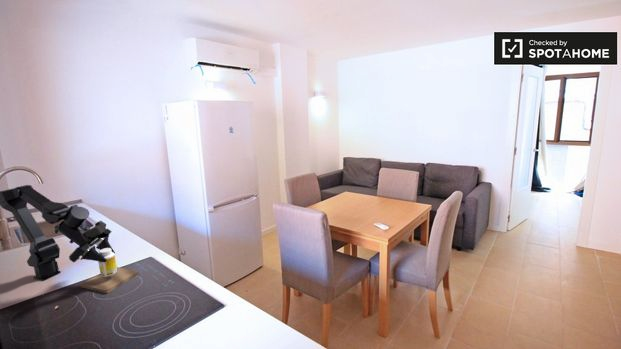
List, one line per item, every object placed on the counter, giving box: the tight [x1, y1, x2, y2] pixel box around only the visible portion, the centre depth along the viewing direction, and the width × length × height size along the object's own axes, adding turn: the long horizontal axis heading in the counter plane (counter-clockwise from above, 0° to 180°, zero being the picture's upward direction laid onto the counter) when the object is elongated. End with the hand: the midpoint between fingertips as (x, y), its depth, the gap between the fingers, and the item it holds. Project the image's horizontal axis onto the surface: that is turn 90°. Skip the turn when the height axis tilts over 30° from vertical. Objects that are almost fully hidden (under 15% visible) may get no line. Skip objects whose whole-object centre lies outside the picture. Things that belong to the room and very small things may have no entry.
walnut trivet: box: [80, 266, 140, 294], centre depth 121 cm, size 14×14×1 cm
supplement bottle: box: [97, 248, 118, 277], centre depth 120 cm, size 6×6×10 cm
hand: (110, 257), depth 119 cm, fingers closed on supplement bottle, 5 cm apart
